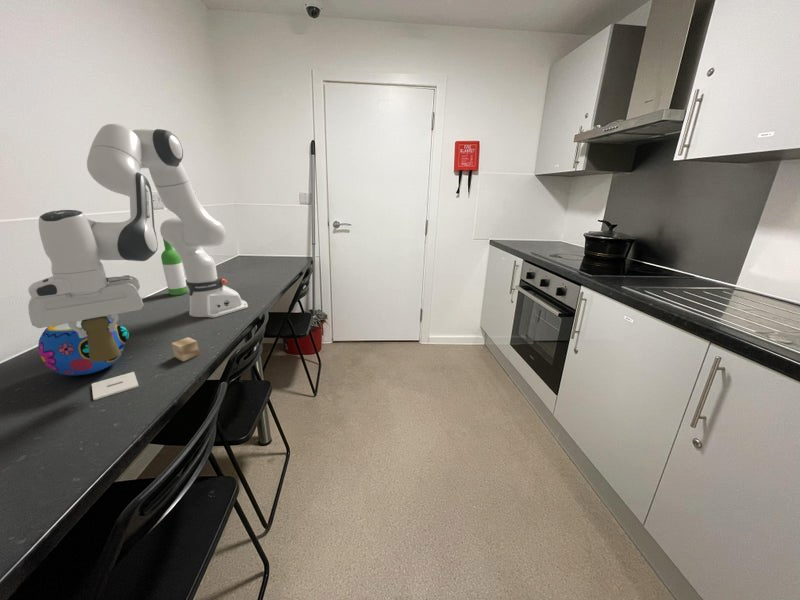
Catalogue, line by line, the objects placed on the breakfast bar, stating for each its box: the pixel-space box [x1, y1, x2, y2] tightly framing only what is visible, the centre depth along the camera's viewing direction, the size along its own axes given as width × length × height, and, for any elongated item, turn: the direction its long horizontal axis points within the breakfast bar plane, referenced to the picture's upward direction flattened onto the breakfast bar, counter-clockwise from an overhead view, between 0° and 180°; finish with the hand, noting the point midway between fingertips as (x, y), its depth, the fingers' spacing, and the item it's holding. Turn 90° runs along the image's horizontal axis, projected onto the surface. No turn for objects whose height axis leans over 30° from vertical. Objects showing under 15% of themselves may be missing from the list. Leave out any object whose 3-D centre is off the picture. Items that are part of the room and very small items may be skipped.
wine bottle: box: [160, 238, 188, 297], centre depth 156 cm, size 8×8×30 cm
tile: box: [91, 371, 140, 401], centre depth 87 cm, size 9×9×1 cm
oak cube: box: [171, 336, 201, 362], centre depth 102 cm, size 5×5×5 cm
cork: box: [81, 316, 121, 362], centre depth 82 cm, size 6×6×11 cm
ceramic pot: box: [37, 317, 130, 376], centre depth 92 cm, size 18×18×15 cm
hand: (98, 333), depth 82 cm, fingers closed on cork, 4 cm apart
